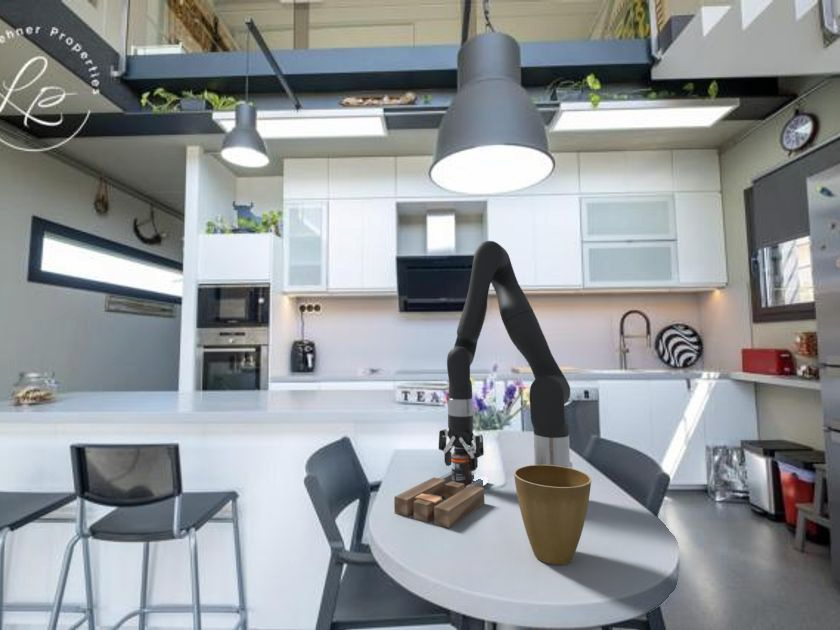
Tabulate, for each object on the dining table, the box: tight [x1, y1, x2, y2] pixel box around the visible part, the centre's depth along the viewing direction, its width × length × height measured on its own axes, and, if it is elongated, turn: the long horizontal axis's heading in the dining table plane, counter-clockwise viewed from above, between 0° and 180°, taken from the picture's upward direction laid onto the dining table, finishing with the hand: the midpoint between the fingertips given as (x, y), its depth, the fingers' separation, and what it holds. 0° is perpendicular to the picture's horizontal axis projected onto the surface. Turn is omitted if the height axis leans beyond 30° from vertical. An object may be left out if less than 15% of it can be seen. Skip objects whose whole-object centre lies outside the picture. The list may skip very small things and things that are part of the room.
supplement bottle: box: [450, 447, 473, 489], centre depth 128 cm, size 6×6×11 cm
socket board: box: [393, 477, 485, 529], centre depth 111 cm, size 16×18×4 cm
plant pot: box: [513, 464, 592, 566], centre depth 87 cm, size 15×15×16 cm
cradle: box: [438, 470, 484, 489], centre depth 128 cm, size 12×12×2 cm
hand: (460, 467), depth 129 cm, fingers open, 8 cm apart
